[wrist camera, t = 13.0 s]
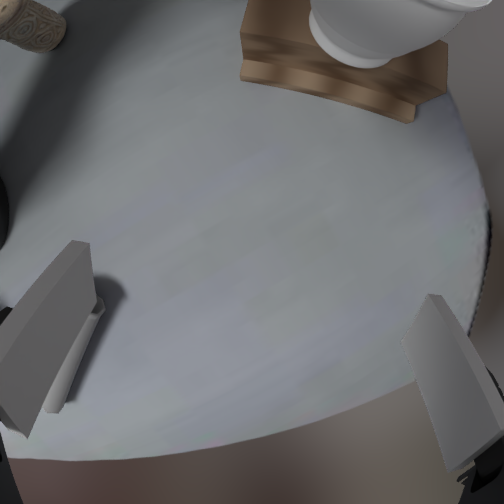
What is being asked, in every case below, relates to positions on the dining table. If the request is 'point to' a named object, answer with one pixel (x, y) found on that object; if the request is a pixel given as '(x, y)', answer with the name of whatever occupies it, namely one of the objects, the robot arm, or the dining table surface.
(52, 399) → the tube
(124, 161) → the dining table surface
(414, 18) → the jar
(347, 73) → the wooden block
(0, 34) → the carving
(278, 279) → the dining table surface
